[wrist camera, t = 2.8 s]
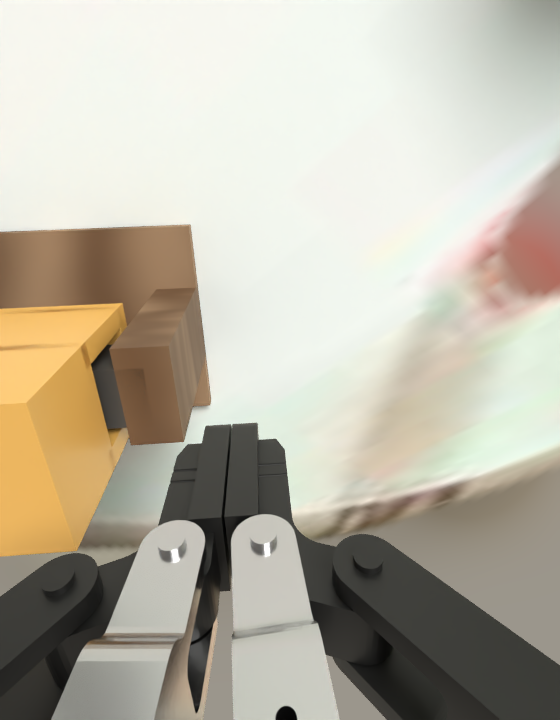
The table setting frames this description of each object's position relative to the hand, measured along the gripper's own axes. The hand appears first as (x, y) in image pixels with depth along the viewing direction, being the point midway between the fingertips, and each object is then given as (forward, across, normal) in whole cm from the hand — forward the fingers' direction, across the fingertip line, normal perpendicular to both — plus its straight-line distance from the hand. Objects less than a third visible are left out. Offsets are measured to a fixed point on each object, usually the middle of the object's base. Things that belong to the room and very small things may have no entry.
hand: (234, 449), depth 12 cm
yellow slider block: (+7, +7, 0) cm, 10 cm away
